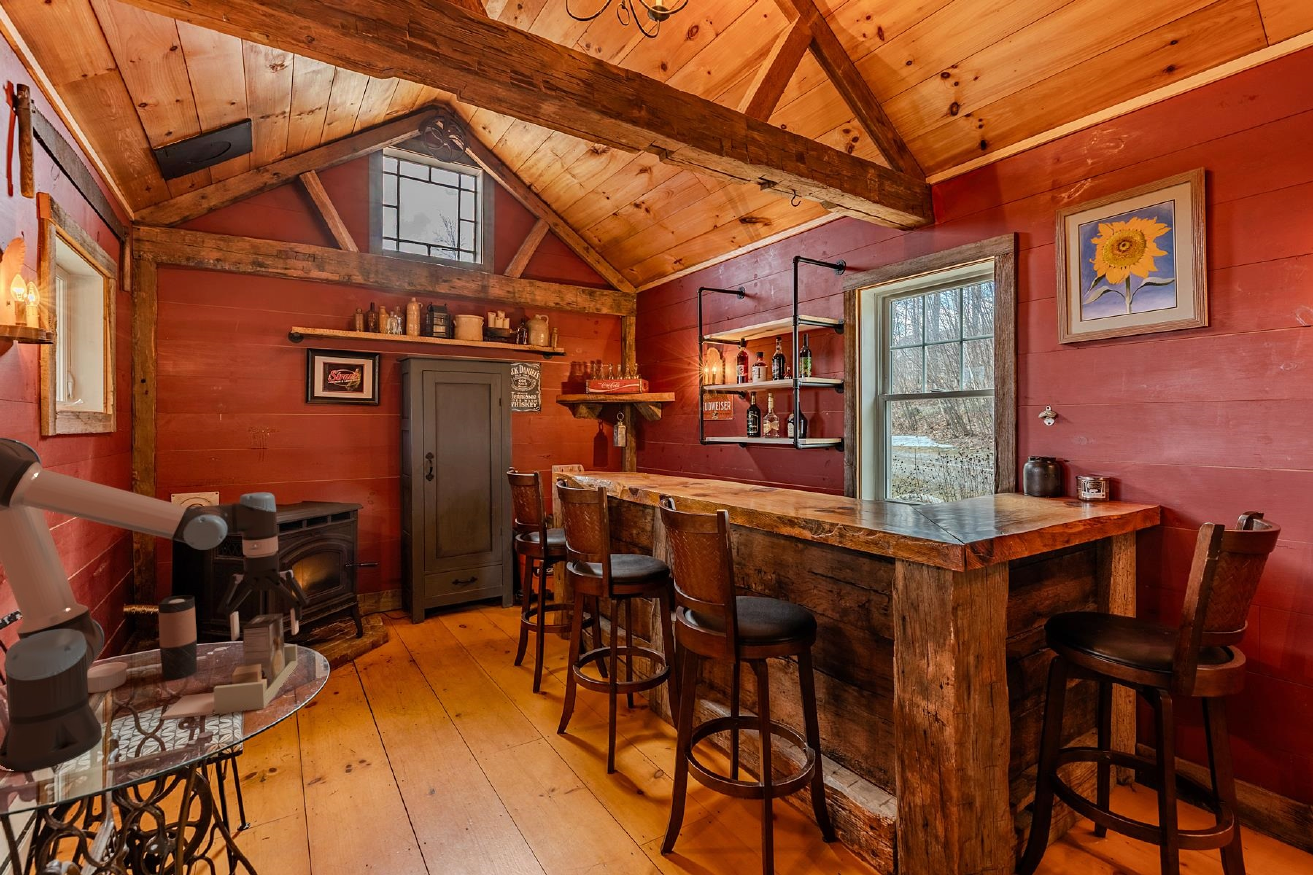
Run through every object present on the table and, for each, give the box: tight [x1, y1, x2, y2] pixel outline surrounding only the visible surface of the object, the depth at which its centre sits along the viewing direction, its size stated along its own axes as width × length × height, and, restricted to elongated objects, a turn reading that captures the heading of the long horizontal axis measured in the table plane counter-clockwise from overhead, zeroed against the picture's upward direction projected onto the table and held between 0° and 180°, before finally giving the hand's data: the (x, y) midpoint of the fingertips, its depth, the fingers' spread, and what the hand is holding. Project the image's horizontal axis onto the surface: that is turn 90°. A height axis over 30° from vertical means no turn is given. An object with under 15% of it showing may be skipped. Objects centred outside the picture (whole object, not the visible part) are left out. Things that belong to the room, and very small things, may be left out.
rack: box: [213, 643, 299, 715], centre depth 153 cm, size 10×24×6 cm, turn 14°
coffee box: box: [241, 613, 285, 689], centre depth 157 cm, size 9×6×16 cm
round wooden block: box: [87, 661, 129, 694], centre depth 155 cm, size 9×9×4 cm
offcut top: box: [231, 664, 262, 684], centre depth 146 cm, size 5×5×4 cm
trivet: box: [160, 692, 215, 720], centre depth 144 cm, size 10×10×1 cm
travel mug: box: [157, 594, 198, 681], centre depth 161 cm, size 8×8×20 cm
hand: (265, 635), depth 157 cm, fingers open, 13 cm apart
